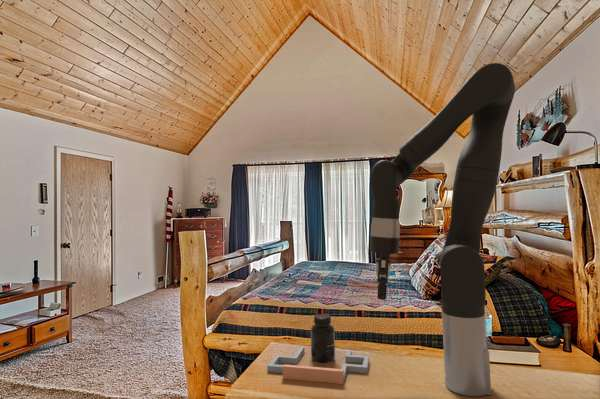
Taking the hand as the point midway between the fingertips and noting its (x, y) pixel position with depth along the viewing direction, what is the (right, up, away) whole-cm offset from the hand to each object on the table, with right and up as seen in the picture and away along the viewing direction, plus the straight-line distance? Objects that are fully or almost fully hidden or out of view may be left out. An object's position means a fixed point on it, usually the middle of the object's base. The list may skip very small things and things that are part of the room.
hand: (382, 295), depth 95 cm
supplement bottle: (-15, -20, +6) cm, 26 cm away
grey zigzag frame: (-17, -20, +2) cm, 26 cm away
